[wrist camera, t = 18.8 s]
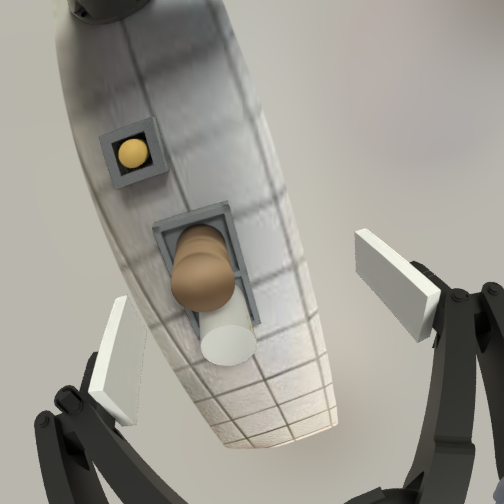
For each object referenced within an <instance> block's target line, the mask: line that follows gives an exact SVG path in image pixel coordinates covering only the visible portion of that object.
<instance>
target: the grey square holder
mask: <svg viewBox="0 0 504 504" xmlns="http://www.w3.org/2000/svg"><path fill="white" fill-rule="evenodd" d="M143 132H145V136H146V139H147V143H148V146H149V150H150V153H151V156H152V160H153V163H152V164H149V165H146V166H143V167H140V168H137V169H135V170H132V171H129V172H128V171H127V168H126V166H124V165H123V164H122V163H121V162H120V160H119V149H120V145H119V141H121V140H124V139H127V138H129V137H132V136H135V135H137V134H140V133H143ZM99 140H100V143H101V147H102V150H103V154H104V157H105V160H106V163H107V167H108V170H109V173H110V176H111V179H112V182H113V185H114V188H115V190H116V189H118V188H121V187H124V186H127V185H129V184H132V183H135V182H138V181H141V180H144V179H146V178H149V177H152V176H155V175H158V174H161V173H165V172H167V171H168V170H169V169H170V166H169V162H168V159H167V155H166V152H165V148H164V145H163V141H162V138H161V134H160V130H159V127H158V123H157V119H156V118H154V117H150V118H147V119H145V120H142V121H139V122H136V123H133V124H131V125H128V126H125V127H123V128H120V129H118V130H115V131H113V132H110V133H108V134H105V135H103V136H101V137H99Z"/></svg>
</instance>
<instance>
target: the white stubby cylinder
mask: <svg viewBox="0 0 504 504" xmlns="http://www.w3.org/2000/svg"><path fill="white" fill-rule="evenodd" d="M199 323H200V345H201V352H202V354H203V356H204V357H205V358H206V359H207V360H208V361H210V362H212V363H214V364H217V365H222V366H231V365H236V364H239V363H242V362H244V361H246V360H247V359H249V358H250V357H251V356H252V355H253V353H254V352H255V350H256V346H257V341H256V337H255V334H254V330H253V327H252V323H251V320H250V316H249V312H248V309H247V305H246V302H245V298H244V294H243V292H242V290H241V289H240V288H239V287H238V286H237V285H235V290H234V293H233V295H232V297H231V299H230V300H229V301H228V302H227V303H226V304H225V305H224V306H222V307H221V308H219V309H217V310H214V311H210V312H199Z"/></svg>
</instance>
